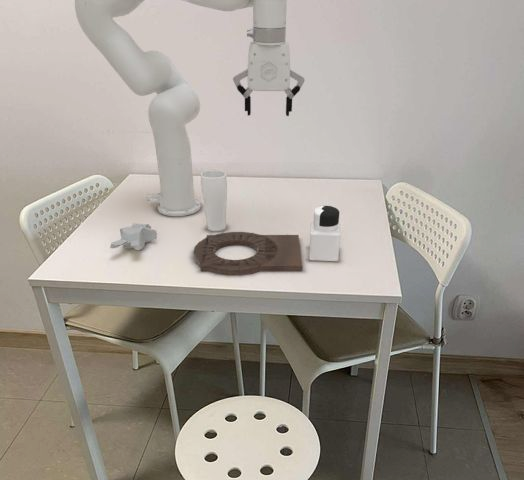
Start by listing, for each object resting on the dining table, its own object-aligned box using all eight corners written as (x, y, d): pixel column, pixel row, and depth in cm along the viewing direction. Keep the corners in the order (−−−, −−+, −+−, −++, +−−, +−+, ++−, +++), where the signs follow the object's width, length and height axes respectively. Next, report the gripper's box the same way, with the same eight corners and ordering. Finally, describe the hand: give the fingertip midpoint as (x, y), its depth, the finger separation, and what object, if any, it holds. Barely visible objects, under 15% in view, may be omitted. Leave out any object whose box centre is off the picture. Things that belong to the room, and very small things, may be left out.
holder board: (189, 275, 126) (189, 269, 125) (198, 237, 142) (198, 231, 141) (302, 275, 126) (302, 269, 125) (297, 236, 142) (298, 231, 141)
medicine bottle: (337, 248, 136) (341, 203, 129) (338, 261, 131) (342, 215, 124) (309, 247, 137) (312, 202, 130) (308, 260, 131) (311, 214, 124)
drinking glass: (232, 225, 148) (230, 170, 139) (223, 234, 143) (220, 179, 134) (210, 221, 150) (206, 168, 141) (200, 231, 145) (195, 176, 136)
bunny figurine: (160, 220, 141) (142, 238, 128) (162, 239, 144) (144, 258, 131) (126, 218, 142) (104, 236, 129) (128, 237, 145) (107, 256, 132)
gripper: (231, 37, 121) (232, 117, 132) (307, 38, 121) (303, 118, 131) (232, 33, 127) (234, 110, 138) (305, 34, 127) (301, 111, 137)
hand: (268, 114), depth 134 cm, fingers open, 9 cm apart
